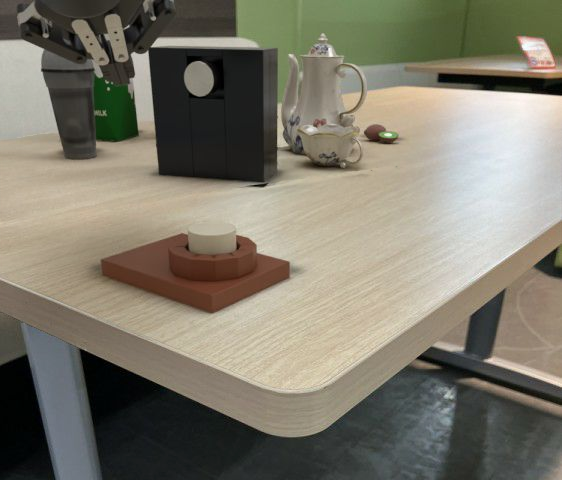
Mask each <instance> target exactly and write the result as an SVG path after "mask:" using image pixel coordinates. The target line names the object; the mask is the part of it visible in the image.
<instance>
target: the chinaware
mask: <svg viewBox="0 0 562 480" xmlns="http://www.w3.org/2000/svg"><path fill="white" fill-rule="evenodd" d="M316 41H317V42H318V43H316V44H313V45H312V46H311V47H310V48H309V49H310V50H309V52H308V53H307V54H301V55H299V57H300V61H301V68H302V78H301V79H302V80H301V87H300V88H301V89H300V93H299V84H300V83H299V81H300V67H299V62H298V59H297V57H296V56H295V54H294V53H286V54H285V56H286V58H287V60H288V63H289V71H288V76H287V80H286V84H285V87H284V91H283V94H282V95H283V96H282V100H281V105H280V106H281V107H280V109H281V110H280V118H281V124H282V127H283V131H282V137H283V140H284V141H285V142H286V144H287V145H288V146H289V148H290V149H291V150H292V152H294V153H296V154H300V155H306V156H307V158H308V159H309V160H310V161H311V162H312V163H314V164H316V165H318V166H321V167H334V166H337V165H339V167H340V168H341V169H344V168H346V167H347V165H346V162H347V163H348V164H351V165H355V164H358V163H359V162H361V160H362V158H363V156H364V147H363V144H362V141H360V140H359V139H357V138H358V135H360V131H361V129H360V127H359V126H354V125H353V124H354V123H355V120H356V115H354V113H356V112H357V111H358V110H360V109H361V108H362V106H363V104H365V101H366V99H367V94H368V81H367V78H366V74H365V73H364V71H363V70H362V68H360V67H359V66H358V65H356V64H354V63H348V62H344V58H345V57H346V55H338V54H337V52H336V50H335V47H334V46H333V45H332V44H329V43H328V42H329V38H327V36H326V34H325V33H321V34H320V35H319V38H318V39H317V40H316ZM344 67H345V68H348V69H352V70H353V71H354V72H356V73H357V75H358V77H359V80H360V85H361V92H360V96H359V99H358V102H357V103H356V105H355V106H353V107H352V108H350V109H348V110H346V107H345V105H344V102H343V100H344V99H343V95H342V88H341V79H344V78H345V77H347V75H348V70H347V69H342V68H344ZM277 119H279V116H278V115H277ZM356 143H357V144H358V146H359V151H360V153H359V158H358V159H357V160H355V161H352V160H349V159H347V158H348V157H349V155H350V154H351V153H352V151H353V148H354V145H356Z"/></svg>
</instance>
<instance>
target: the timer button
mask: <svg viewBox="0 0 562 480" xmlns="http://www.w3.org/2000/svg"><path fill="white" fill-rule="evenodd" d="M187 235H188V243H189V252H193V253H196V254H205V255H218V254H226V253H231V252H233V251H236V235H237V227H236V225H234V224H233V223H230V222H226V221H218V220H215V221H214V220H213V221H212V220H208V221H201V222H196V223H193V224H191V225H189V226H188V227H187Z"/></svg>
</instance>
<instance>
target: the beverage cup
mask: <svg viewBox="0 0 562 480" xmlns="http://www.w3.org/2000/svg"><path fill="white" fill-rule="evenodd" d="M63 39H64V38H63ZM64 41H65V42H66V43H67V44H69V45H70V41H68V40H66V39H64ZM40 65H41V67H40V72H41V73H42V77H43V80H44V83H45V86H46V88H47V90H48V95H49V99H50V103H51V107H52V111H53V115H54V116H53V117H54V119H55V124H56V127H57V132H58V136H59V140H60V145H61V147H62V150H63V153H64V158H66V159H71V160H86V159H93V158H95V157H97V140H96V131H95V111H94V91H93V86H94V71H95V69H94V67H93V62H92V59H87V61H86V63H84V64H76V63H74V62H71V61H69V60H67V59H65V58H63V57H60V56H58V55H56V54H54V53H51V52H49V51H47V50H45V49H43V51H42V54H41V59H40Z"/></svg>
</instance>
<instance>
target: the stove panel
mask: <svg viewBox="0 0 562 480" xmlns="http://www.w3.org/2000/svg"><path fill="white" fill-rule="evenodd" d="M147 54H148V64H149V76H150V77H149V78H150V87H151V88H150V89H151V99H152V109H153V110H152V111H153V112H152V113H153V122H154V133H155V145H156V158H157V170H158V175H159V176H168V177H181V178H183V177H184V178H194V179H195V178H196V179H197V178H198V179H199V178H200V179H208V180H209V179H210V180H211V179H212V180H225V181H237V182H252V183H258V184H251V185H248V187H254V188H265V187H266V186H268V185H269V184H270V182H267V181H268V180H269V179H270V178H272V177H273V176H275V175H277V173H278V118H277V116H278V101H279V99H278V95H279V93H278V91H279V90H278V89H279V88H278V85H279V84H278V83H279V80H278V78H279V76H278V75H279V63H278V62H279V48H278V47H258V46H257V47H255V46H254V47H253V46H252V47H251V46H211V45H210V46H209V45H207V46H202V45H161V46H151V47H150V48H149V50H148V51H147ZM203 60H208V61H211V62H213V63H214V64H215V65H216V66H217V67H218V69H219V70H220V73H221V84H220V87H219V88H218V90H217V91H216V92H214V93H213V94H209V95H206V96H195V95H193V94H192V93H191V92H190V91H189V90H188V89H187V87H186V85H185V81H184V73H185V70H186V68H187V67H188V65H189V64H191V63H192V62H196V61H203Z"/></svg>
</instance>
